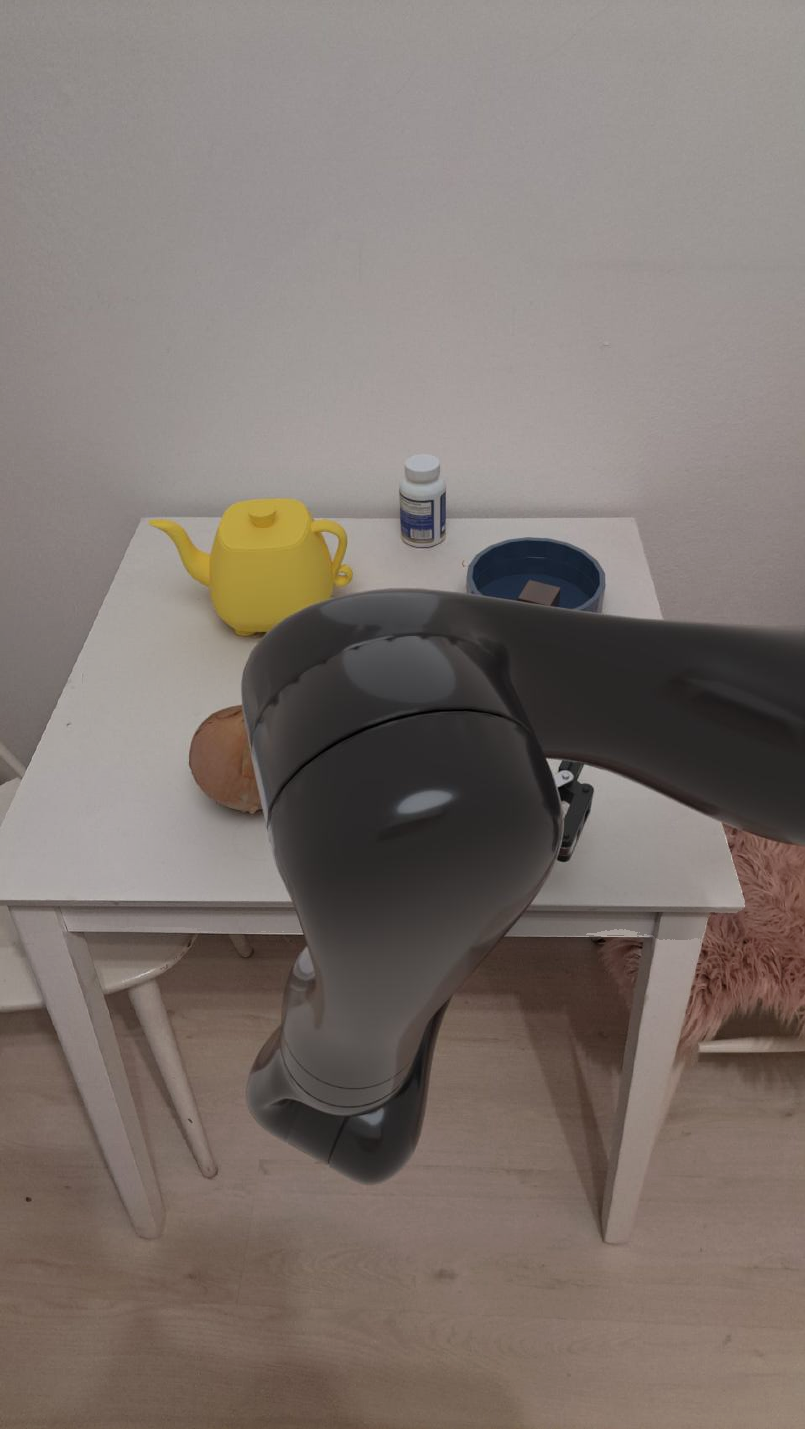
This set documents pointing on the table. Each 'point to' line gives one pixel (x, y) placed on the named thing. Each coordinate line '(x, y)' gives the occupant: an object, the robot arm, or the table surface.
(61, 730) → the table surface
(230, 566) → the teapot
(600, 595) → the bowl
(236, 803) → the onion
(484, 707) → the robot arm
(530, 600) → the block
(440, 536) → the pill bottle
